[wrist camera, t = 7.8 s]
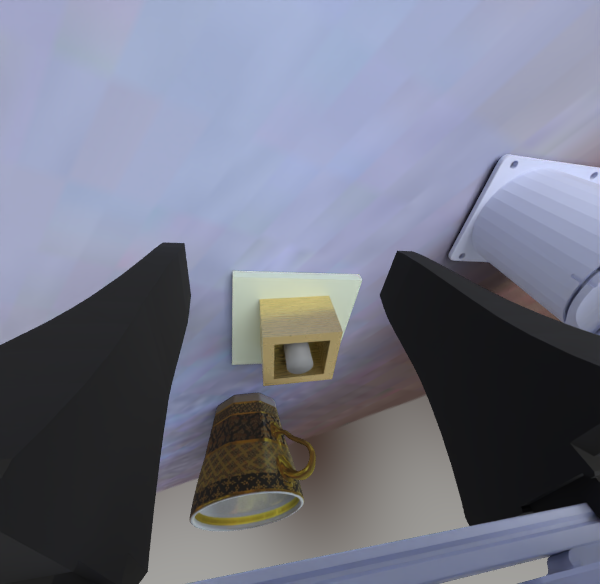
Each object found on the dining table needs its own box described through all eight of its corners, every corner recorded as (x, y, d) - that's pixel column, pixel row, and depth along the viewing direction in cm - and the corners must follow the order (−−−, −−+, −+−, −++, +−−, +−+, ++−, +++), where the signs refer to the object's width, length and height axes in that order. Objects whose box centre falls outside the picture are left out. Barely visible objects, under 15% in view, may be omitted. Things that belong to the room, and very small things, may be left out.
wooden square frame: (329, 295, 23) (342, 331, 20) (321, 342, 27) (331, 379, 24) (259, 299, 22) (262, 337, 19) (260, 347, 26) (263, 386, 23)
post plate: (359, 274, 23) (382, 316, 20) (332, 354, 29) (346, 398, 26) (232, 270, 21) (231, 317, 17) (232, 357, 27) (231, 406, 23)
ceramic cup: (247, 437, 38) (249, 534, 30) (181, 415, 32) (164, 527, 24) (325, 391, 34) (351, 489, 26) (267, 356, 28) (277, 468, 20)
